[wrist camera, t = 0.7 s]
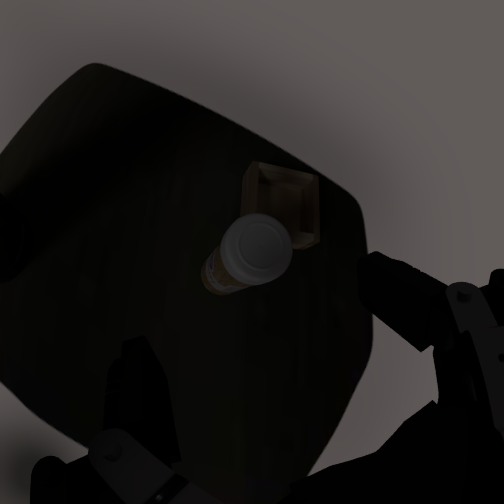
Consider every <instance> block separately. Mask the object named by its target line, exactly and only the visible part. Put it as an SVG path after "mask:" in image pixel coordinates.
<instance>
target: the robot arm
mask: <svg viewBox="0 0 504 504" xmlns="http://www.w3.org/2000/svg"><path fill="white" fill-rule="evenodd" d="M30 241H31V238H30V228H29V224H28V221H27V219H26V217H25V216H24V214H23V213H22V212H21V211H20V210H19V209H17V208H16V207H15V206H14V205H13V204H12V203H11V202H10V201H8V200H7V199H6V198H5V197H4V196H3V195H2V194H1V193H0V283H4V282H7V281H9V280H11V279H12V278H14V277H15V276H16V275H17V274H18V273H19V272H20V270H21V269H22V267H23V265H24V263H25V261H26V259H27V256H28V253H29V249H30ZM357 273H358V295H359V299H360V301H361V303H362V305H363V306H364V307H365V308H366V309H367V310H369V311H370V312H371V313H373V314H374V315H375V316H376V317H378V318H379V319H380V320H381V321H383V322H384V323H385V324H386V325H388V326H389V327H390V328H391V329H393V330H394V331H395V332H396V333H398V334H399V335H400V336H401V337H402V338H404V339H405V340H406V341H408V342H409V343H410V344H411V345H412V346H414V347H415V348H416V349H417V350H418V351H420V352H422V351H424V350H425V349H426V348H428V347H429V346H430V345H432V346H434V350H433V358H434V364H435V370H436V377H437V383H438V392H439V398H438V403H437V404H436V403H435V402H434V401H433V400H432V401H431V402H429V403H428V404H427V405H426V406H424V407H423V408H422V409H421V410H419V411H418V412H416V413H415V414H414V415H412V416H411V417H410V418H408V419H407V420H406V421H404V422H403V423H402V425H401V426H400V427H399V428H398V429H397V430H396V431H395V432H394V434H393V435H392V436H391V437H390V438H389V439H388V440H387V441H386V442H385V443H384V444H383V445H382V446H381V447H380V448H379V449H378V450H377V451H376V452H374V453H372V454H369V455H366V456H363V457H359V458H356V459H353V460H350V461H346V462H343V463H339V464H336V465H332V466H329V467H327V468H325V469H323V470H321V471H319V472H317V473H315V474H312V475H310V476H308V477H306V478H303V479H301V480H299V481H296V482H294V483H291V484H289V487H290V489H291V491H292V493H290V494H289V495H287V496H286V497H284V498H283V499H282V500H281V501H280V502H278V503H277V504H504V269H496V270H494V271H493V272H491V275H490V280H489V284H488V285H486V286H483V287H480V288H478V287H476V286H475V285H473V284H470V283H466V282H456V283H453V284H451V285H449V286H447V285H446V284H444V283H442V282H440V281H438V280H437V279H435V278H433V277H431V276H429V275H427V274H426V273H424V272H421V271H420V270H418V269H416V268H413V267H412V266H411V265H409V264H407V263H405V262H403V261H399V260H395V259H391V258H389V257H387V256H385V255H383V254H382V253H380V252H377V251H374V252H372V253H370V254H367V255H365V256H363V257H360V258H359V259H358V261H357ZM180 461H181V456H180V451H179V446H178V441H177V436H176V430H175V425H174V419H173V413H172V406H171V400H170V393H169V386H168V381H167V377H166V375H165V372H164V370H163V368H162V366H161V364H160V362H159V361H158V359H157V357H156V355H155V353H154V352H153V350H152V348H151V346H150V344H149V342H148V340H147V339H146V337H145V336H139V337H136V338H133V339H130V340H126V341H123V344H122V354H121V358H118V359H114V361H113V363H112V364H111V366H110V368H109V370H108V374H107V385H106V395H105V405H104V420H103V431H102V432H101V433H99V434H98V435H97V436H96V437H95V438H94V439H93V440H92V442H91V444H90V446H89V450H88V455H86V456H84V457H81V458H79V459H77V460H75V461H72V462H70V463H68V464H66V463H64V462H63V461H62V460H60V459H59V458H58V457H55V456H46V457H44V458H42V459H40V460H39V461H38V462H37V463H36V465H35V466H34V468H33V470H32V474H31V488H30V504H224V503H222V502H221V501H219V500H217V499H216V498H214V497H213V496H211V495H209V494H208V493H206V492H205V491H203V490H202V489H200V488H199V487H197V486H196V485H194V484H193V483H191V482H190V481H188V480H187V479H185V478H184V477H182V476H180V475H178V474H177V473H175V472H174V471H173V470H172V467H171V463H175V462H180Z"/></svg>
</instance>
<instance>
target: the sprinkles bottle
mask: <svg viewBox="0 0 504 504" xmlns="http://www.w3.org/2000/svg"><path fill="white" fill-rule="evenodd" d="M291 257H292V242H291V238H290V236H289V234H288V232H287V230H286V228H285V227H284V226H283V225H282V224H281V223H280V222H279V221H278V220H276V219H275V218H273V217H271V216H269V215H266V214H262V213H251V214H247V215H244V216H242V217H240V218H239V219H237V220H236V221H235V222H234V223H233V224H232V225H231V226H230V227H229V228H228V230H227V231H226V233H225V234H224V236H223V239H222V242H221V244H220V245H219V246H218V247H217V248H216V249H215V250H214V251H213V253H212V254H211V255H210V257H208V258H207V260H206V261H205V262H204V264H203V266H202V269H201V278H202V281H203V283H204V285H205V287H206V288H207V289H208V290H209V291H210V292H212V293H214V294H217V295H228V294H231V293H233V292H235V291H238V290H241V289H244V288H246V287H249V286H252V285H260V284H264V283H267V282H269V281H272V280H274V279H276V278H278V277H279V276H280V275H281V274H283V273H284V272H285V270H286V269H287V267H288V266H289V264H290V261H291Z"/></svg>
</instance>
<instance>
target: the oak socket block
mask: <svg viewBox="0 0 504 504" xmlns="http://www.w3.org/2000/svg"><path fill="white" fill-rule="evenodd" d="M251 213H262V214H266V215H269V216H271V217H273V218H275V219H276V220H278V221H279V222H280V223H281V224H282V225H283V226H284V227H285V228H286V230H287V232H288V234H289V236H290V238H291V242H292V248H294V249H301V250H304V249H306V248H308V247H310V246H312V245H314V244H316V243H318V242H320V210H319V179H318V176H317V175H313V174H309V173H305V172H301V171H297V170H293V169H288V168H284V167H280V166H275V165H271V164H266V163H261V162H257V161H252V163H251V164H250V166H249V168H248V169H247V171H246V173H245V175H244V176H243V184H242V196H241V209H240V217H242V216H244V215H247V214H251Z"/></svg>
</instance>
